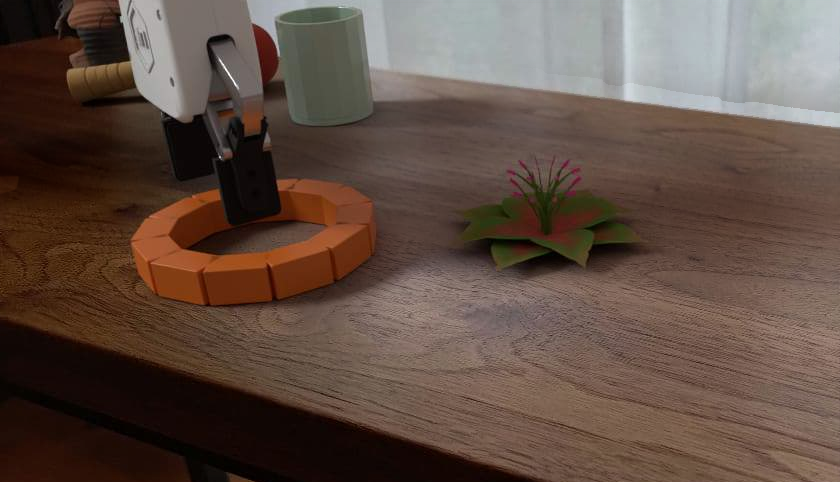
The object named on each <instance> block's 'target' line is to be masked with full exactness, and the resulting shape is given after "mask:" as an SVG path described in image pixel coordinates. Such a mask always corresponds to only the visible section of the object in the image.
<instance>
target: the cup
mask: <svg viewBox="0 0 840 482" xmlns="http://www.w3.org/2000/svg"><path fill="white" fill-rule="evenodd" d="M274 27H275V33H276V38H277V45H278V51H279V57H280V63H281V68H282V76H283V80H284V88H285V94H286V98H287V105H288V112H289V117H290V120H291V121H292V122H293V123H296V124H298V125H303V126H307V127H308V126H309V127H331V126H341V125H347V124H351V123H355V122H358V121H359V122H360V121H362V120H364V119H366V118H368V117H371V115H373V114H374V112H375V107H374V106H375V103H374V95H373V89H372V82H371V81H372V80H371V71H370V64H369V55H368V47H367V46H368V45H367V38H366V31H365V23H364V13H363V11H362V9H360V8H357V7H354V6H345V5H324V6H323V5H322V6H313V7H305V8H297V9H293V10H289V11H285V12H282V13H279V14H277V15H276V16H274Z"/></svg>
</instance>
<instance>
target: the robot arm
mask: <svg viewBox="0 0 840 482" xmlns="http://www.w3.org/2000/svg"><path fill="white" fill-rule="evenodd" d="M119 5H120V10H121V15H122V16H121V21H122V22H123V25H124V30H125V35H126V40H127V45H128V50H129V56H130V60H131V65H132V70H133V75H134V80H135V84H136V86H137V88H136V89H137V91H138V92H139V94H140V95H141V96H142V97H143V98H144V99H146V100H147V101H148V102H150V103H151V104H153V105H154V106H155V107H157V110H158V113H159V115H160V117H161V118H162V120H160V124H161V128H162V129H161V130H162V132H163V137H164V141H165V145H166V150H167V153H168V154H167V155H168V157H169V162H170V166H171V171H172V175H173V177H174V178H175V179H176V180H177V181H178V182H186V181H190V180H195V179H198V178H203V177H206V176H207V177H208V176H211V175H215V179H216V183H217V187H218V188H217V189H219V193H220V198H221V202H222V207H223V212H224V216H225V220H226V222H227V223H229V224H230V225H231V226H238V227H240V226H239V225H242V224H246V223H250V222H253V221H257V220H261V219H264V218H268V217H272V216H275V215H278V214H279V213H280V212H281V202H280V197H279V191H278V186H277V180H278V179H277V174H276V171H275V165H274V164H275V163H274V160H273V154H272V141H271V137H270V135H269V133H268V127H269V126H270V125H269V122H267V120H268V117H267V116H266V115H265V114H264V113H265V109H264V108H265V95H264V86H263V85H262V77H261V70H260V63H259V58H258V52H257V47H256V42H255V37H254V32H253V27H252V23H253V22H252V18H251V14H250V9H249V5H248V1H247V0H119ZM226 119H227V120H228V119H229V120H228V123H227V130H226V131H225V129H224V125H223V124H222V121H221V120H226ZM250 224H251V223H250ZM246 225H247V224H246ZM242 226H243V225H242Z"/></svg>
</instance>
